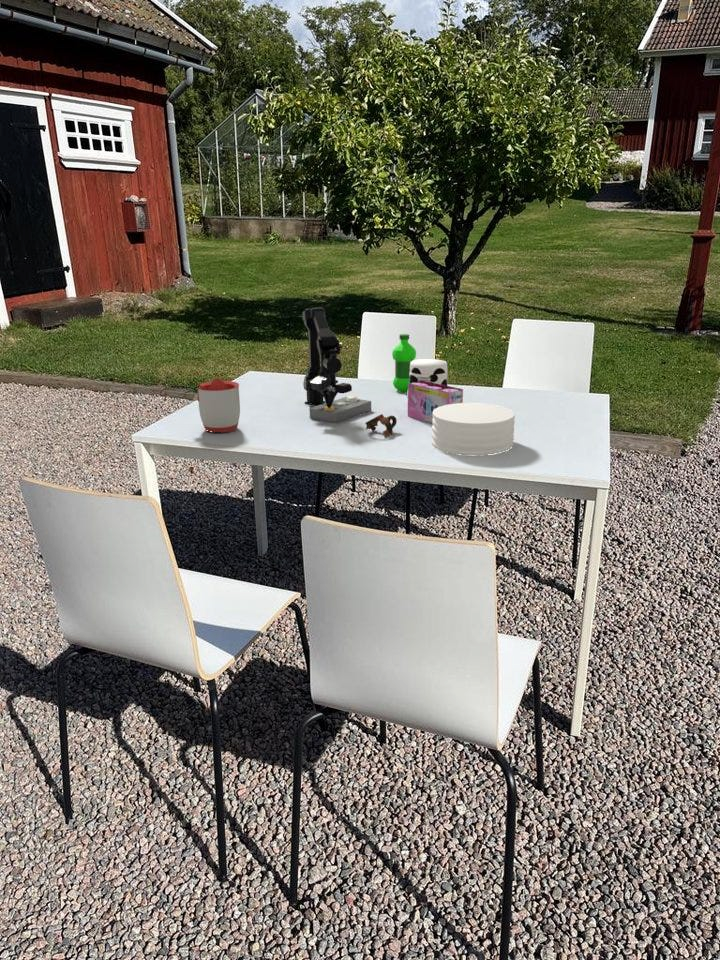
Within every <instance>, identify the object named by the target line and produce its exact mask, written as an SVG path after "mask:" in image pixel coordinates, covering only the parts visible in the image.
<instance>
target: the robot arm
mask: <svg viewBox="0 0 720 960" xmlns="http://www.w3.org/2000/svg"><path fill="white" fill-rule="evenodd" d="M301 315H302V316H301V317H302V321H303V324H304V326H305V327H306V329H307V331H308V333H307V334H308V362H309V363H308V364H309V365H308V366H307V368H306V370H305V375H304V377H303V386H302V387H303V390H305V391H306V401H304V404H306V403H307V405H313V406H319V405H322V404H325V403H326V405H327V407H328V408H330V407H331V406H332V403H333V401H335V400H336V396H337V394H345V393H349V392H352V390H353V386H352V385H351V383H347V382H342V383H339V380H337V373H339V371H340V370H341V369H342V366H343V365H342V361H341V359H339V358H338V357H337V355H341V351H342V349H341V345H340V341H339V340H338V339H339V338H338V337H337V336H336V333H335V331H332V330H331V329H330V327H329V324H328V321H327V319H326V310H325V308H324V307H312V308H305V310H303V311H302V314H301ZM338 383H339V384H338Z"/></svg>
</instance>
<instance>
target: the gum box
mask: <svg viewBox="0 0 720 960" xmlns="http://www.w3.org/2000/svg"><path fill="white" fill-rule="evenodd" d="M463 398H464V389H462V388H459V387H455V386H449V385H448V386H445V385H441V384H437V383H432V382H428V381H423V380H419V381H418V383H408V398H407V417H409V418H413V419H415V420H420V421H424V422H428V423H431V424H432V419H433V416H432V415H433V410H434V409H436V408H438V407H440V406H444V405H449V404H457V403H464V402H463V401H464V399H463Z"/></svg>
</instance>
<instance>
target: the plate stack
mask: <svg viewBox="0 0 720 960" xmlns="http://www.w3.org/2000/svg"><path fill="white" fill-rule="evenodd" d="M432 416H433V419H432V423H431V424H432V426H431V430H432V433H431V438H432V439H431V445H432V447H433V446H434V447H435V448H434V447H433V448H434V449H436V448H437V449H439V450H441V451H440V452H442V451H444V452H443V453H445V452H448V453H447V454H449V453H453V454H452V455H454V454H461V455H488V454H494V453H499V452H503V451H506V450H508V449H510V448H511V447H512V446H513V447H514V439H515V438H514V436H515V435H514V434H515V421H516V420H515V418H516V412H514V410H512V408H511V409H510V408H509V407H506V406H501V405H497V404H491V403H482V402H463V403H457V404H449V405H444V406H440V407H438V408H436V409H434V410H433V415H432ZM437 449H436V450H437ZM439 450H438V451H439ZM461 455H460V456H461Z"/></svg>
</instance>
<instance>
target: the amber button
mask: <svg viewBox="0 0 720 960" xmlns="http://www.w3.org/2000/svg"><path fill="white" fill-rule="evenodd" d="M324 410H328V411H332V410H335V407H333V406H331V407H330V408H328V407H327V406H326V407H324Z"/></svg>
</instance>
